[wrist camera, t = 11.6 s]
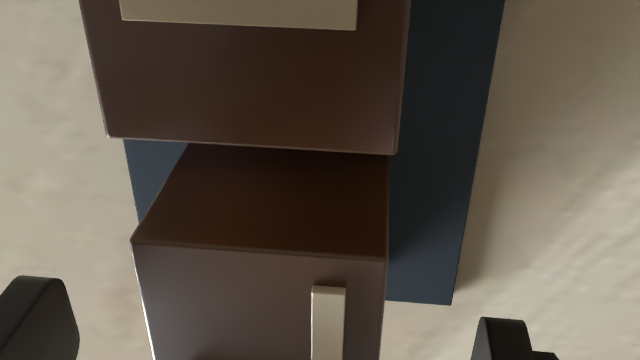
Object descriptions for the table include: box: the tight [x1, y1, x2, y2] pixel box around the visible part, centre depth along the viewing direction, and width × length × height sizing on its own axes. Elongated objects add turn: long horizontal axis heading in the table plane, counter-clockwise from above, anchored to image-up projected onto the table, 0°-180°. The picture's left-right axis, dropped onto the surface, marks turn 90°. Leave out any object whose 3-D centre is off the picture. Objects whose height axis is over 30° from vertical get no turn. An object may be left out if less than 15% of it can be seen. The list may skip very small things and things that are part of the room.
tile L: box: [130, 143, 390, 360], centre depth 14 cm, size 5×5×5 cm
